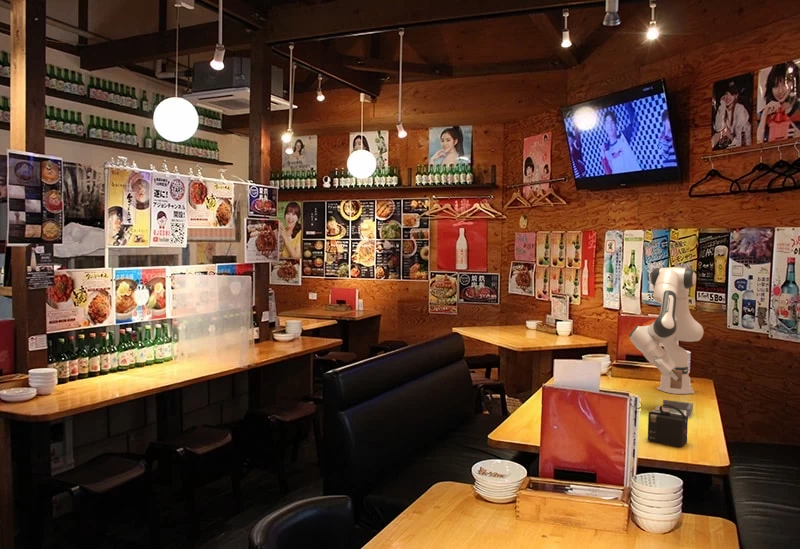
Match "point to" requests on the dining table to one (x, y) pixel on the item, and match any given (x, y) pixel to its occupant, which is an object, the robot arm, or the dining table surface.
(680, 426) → the black portable radio
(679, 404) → the corner arena
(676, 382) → the walnut block
